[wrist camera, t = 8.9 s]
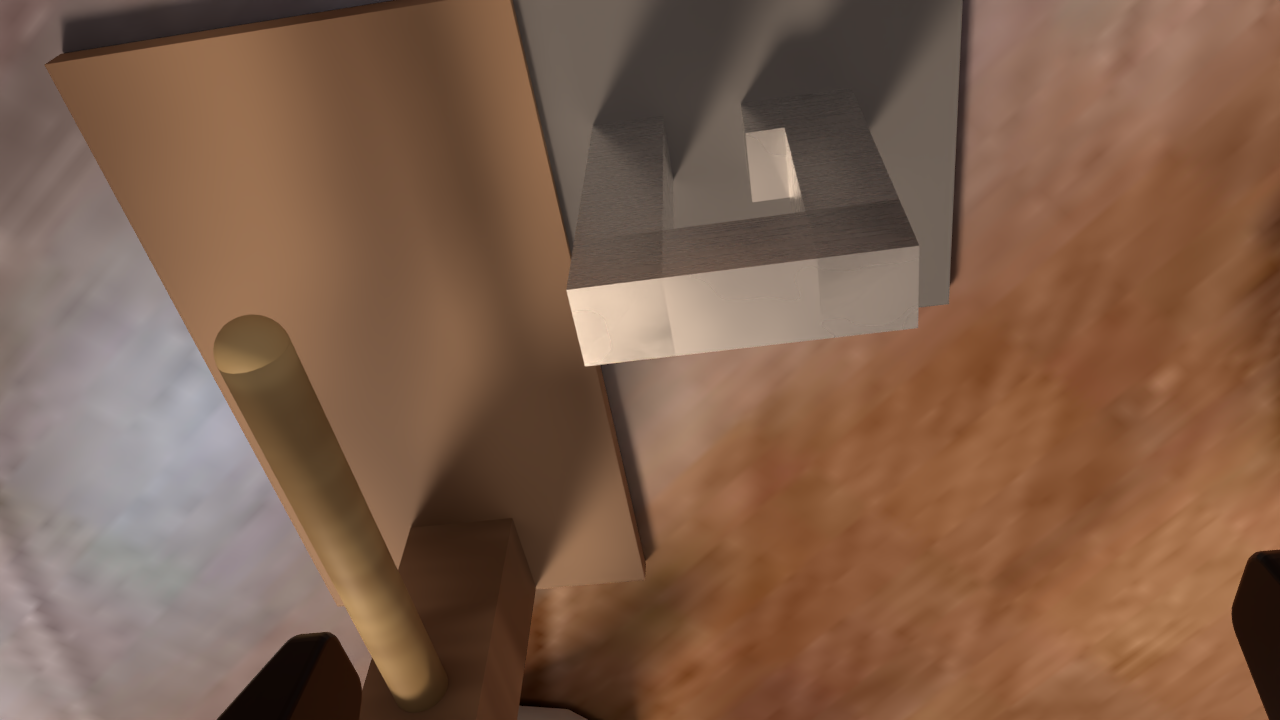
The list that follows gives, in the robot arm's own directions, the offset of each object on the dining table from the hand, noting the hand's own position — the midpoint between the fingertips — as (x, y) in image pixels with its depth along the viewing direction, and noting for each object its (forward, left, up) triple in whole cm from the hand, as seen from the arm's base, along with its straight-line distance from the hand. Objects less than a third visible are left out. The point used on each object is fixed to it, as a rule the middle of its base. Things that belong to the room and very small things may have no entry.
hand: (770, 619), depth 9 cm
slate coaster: (0, 0, -12) cm, 12 cm away
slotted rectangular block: (0, 0, -11) cm, 11 cm away
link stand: (+8, +5, -12) cm, 15 cm away
